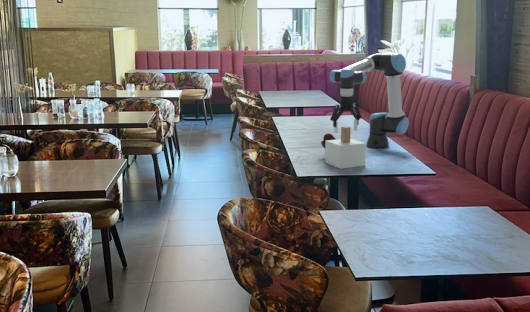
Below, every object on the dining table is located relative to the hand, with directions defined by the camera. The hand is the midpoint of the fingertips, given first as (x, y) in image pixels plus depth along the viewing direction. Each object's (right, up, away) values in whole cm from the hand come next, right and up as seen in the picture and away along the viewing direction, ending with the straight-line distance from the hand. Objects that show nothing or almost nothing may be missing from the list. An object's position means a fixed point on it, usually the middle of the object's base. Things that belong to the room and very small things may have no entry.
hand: (345, 131), depth 323 cm
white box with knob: (0, -19, +4) cm, 20 cm away
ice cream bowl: (-7, -15, +24) cm, 29 cm away
